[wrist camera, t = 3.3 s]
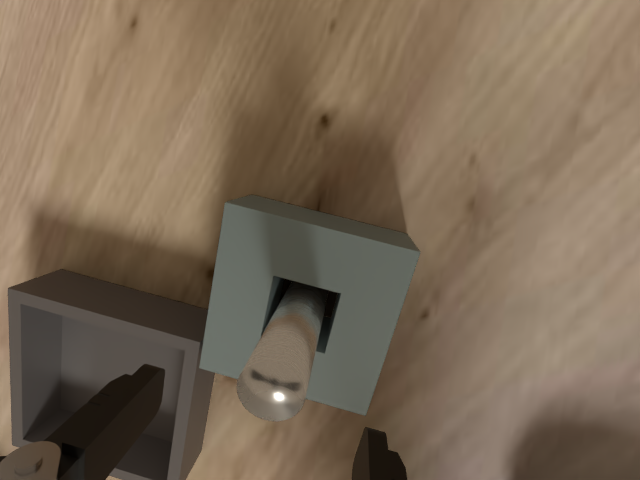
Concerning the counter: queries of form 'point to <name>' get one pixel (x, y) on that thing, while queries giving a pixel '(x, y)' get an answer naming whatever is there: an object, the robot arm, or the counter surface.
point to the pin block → (316, 270)
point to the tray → (107, 364)
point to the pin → (284, 355)
